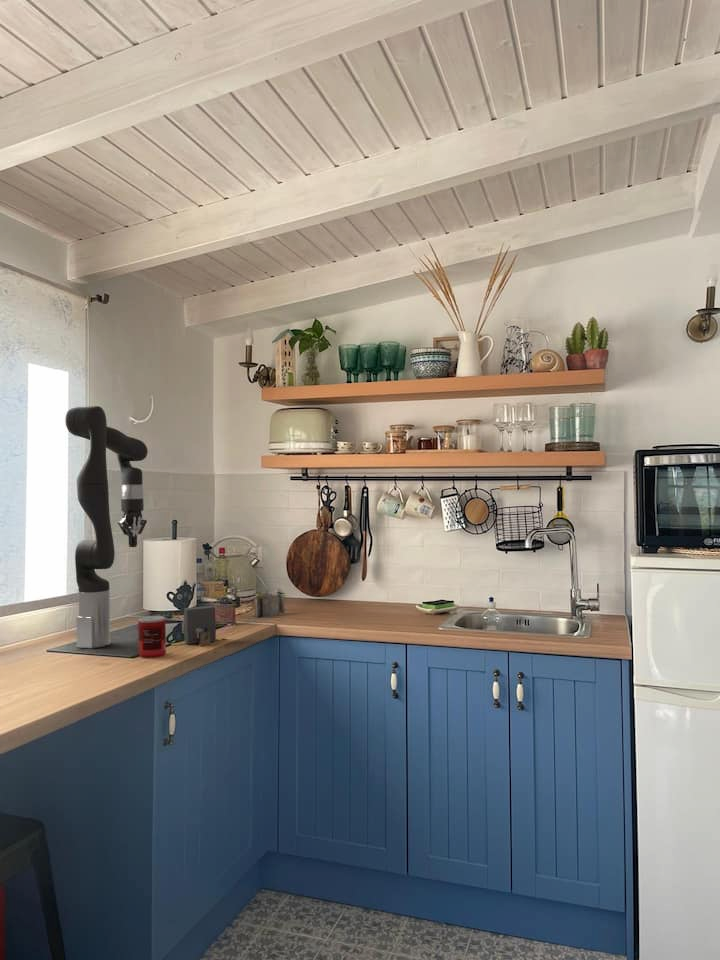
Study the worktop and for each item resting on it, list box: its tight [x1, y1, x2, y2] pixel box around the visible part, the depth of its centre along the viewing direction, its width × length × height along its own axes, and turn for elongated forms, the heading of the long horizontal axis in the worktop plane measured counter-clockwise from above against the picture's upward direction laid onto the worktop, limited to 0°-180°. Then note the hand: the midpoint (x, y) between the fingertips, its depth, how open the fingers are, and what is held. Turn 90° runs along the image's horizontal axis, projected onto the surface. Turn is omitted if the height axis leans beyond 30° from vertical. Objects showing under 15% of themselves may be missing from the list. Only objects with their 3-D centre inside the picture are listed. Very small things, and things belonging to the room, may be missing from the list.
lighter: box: [214, 596, 237, 626], centre depth 266 cm, size 8×3×10 cm, turn 74°
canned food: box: [137, 615, 167, 659], centre depth 218 cm, size 8×8×11 cm
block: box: [183, 605, 217, 645], centre depth 235 cm, size 4×9×11 cm, turn 117°
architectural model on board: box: [254, 592, 286, 618], centre depth 284 cm, size 11×3×10 cm, turn 121°
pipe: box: [170, 621, 226, 647], centre depth 240 cm, size 23×18×4 cm
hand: (133, 546), depth 260 cm, fingers closed
